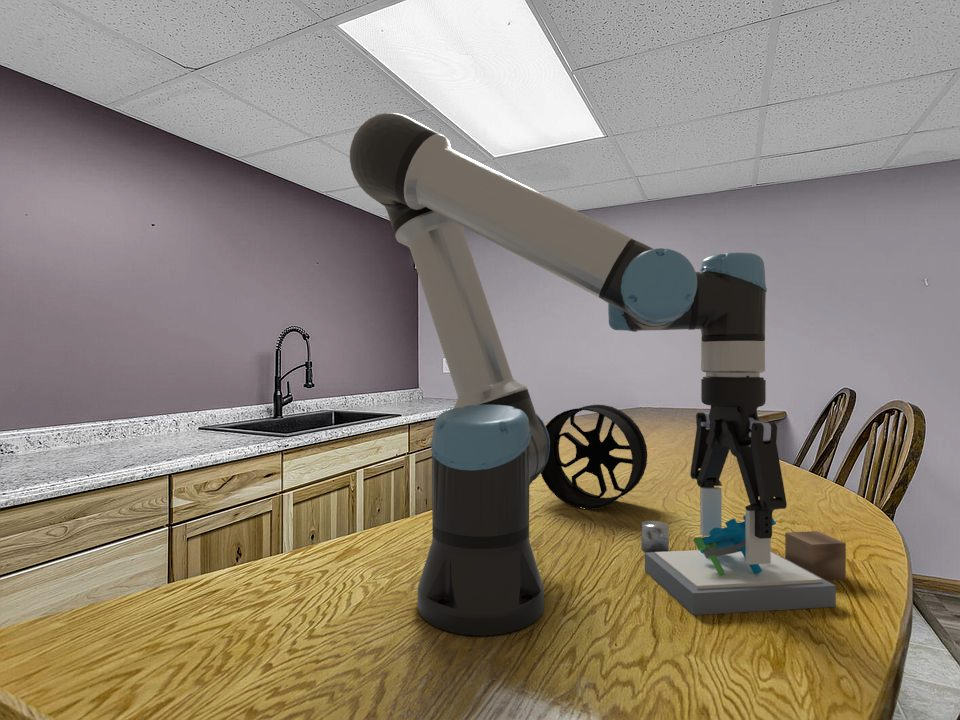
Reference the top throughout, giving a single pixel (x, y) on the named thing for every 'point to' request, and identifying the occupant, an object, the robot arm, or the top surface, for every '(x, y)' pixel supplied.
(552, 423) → the car wheel rim
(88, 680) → the top surface
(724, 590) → the stand
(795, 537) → the walnut block
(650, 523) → the steel cylinder
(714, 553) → the gear
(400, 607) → the top surface
